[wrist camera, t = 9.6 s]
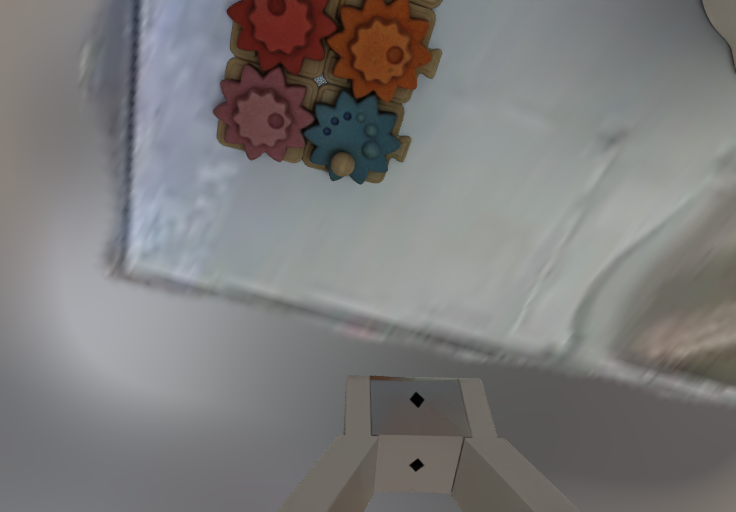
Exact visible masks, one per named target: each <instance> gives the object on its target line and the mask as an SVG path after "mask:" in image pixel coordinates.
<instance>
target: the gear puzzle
mask: <svg viewBox="0 0 736 512" xmlns="http://www.w3.org/2000/svg"><path fill="white" fill-rule="evenodd" d="M441 2H442V0H241V1H239V2H237V3H235V4H233V5H232V6H230V7H229V8H228V9H227V14H228V15H229V16H230V18H231V19H232V20H233V21H234V22H233V27H232V35H231V42H230V49H231V51H232V53H233V54H234V55H235V56H236V57H234V58H232V59H230V60H229V62H228V64H227V67H226V73H225V80H222V81H221V83H220V85H221V89H222V93H223V95H224V97H225V99H226V100H227V101H226V102H224V103H221V104H220V105H218V106H217V107H216V108H215V109H214V111H213V113H214V115H215V116H216V117H217V118H218V119H219V123H218V131H217V139H218V141H219V143H221V144H222V145H224V146H228V147H232V148H236V149H240V150H244V151H245V152H246V154H247V157H248V158H249V159H250V160H254V159H256V158H258V157H259V156H261V155H262V154H263V153H264V152H266V153H267V154H268V155H269V156H270V157H271V158H273V159H274V160H276V161H278V162H281V161H282V160H284V161H288V162H291V163H297V162H299V161H300V160H301V159H303V161H304V163H305V165H307V166H308V167H312V168H315V169H319V170H324V171H328V172H329V176H330V179H331V180H332V181H335V180H338V179H341V178H342V177H344V176H347V175H350V177H351V178H352V179H353V180H354V181H355V182H357V183H358V184H363V182H364V181H367V182H371V183H380V182H381V181H382V180H383V179H384V177H385V174H386V172H387V171H388V164H389V160H390V158H395V159H396V160H398V161H400V162H404V159H405V157H406V154H407V151H408V148H409V146H410V143H411V138H410V137H409V136H399V135H398V133H399V130H400V127H401V124H402V121H403V117H404V108H403V106H402V103H406V102H408V101H409V100H410V98H411V95H412V92H413V90H414V89H416V87H417V77H418V75H419V74H420V73H421V74H424V75H425V76H426V77H428V78H430V79H433V77H434V75H435V72H436V70H437V67H438V64H439V61H440V58H441V55H442V51H441V50H440V49H429V48H428V43H429V40H430V37H431V34H432V31H433V28H434V24H435V21H436V15H435V13H434V11H433V10H432V9H434V8H436V7H438V6H439V5H440V4H441ZM321 74H323V75H324V78H325V80H327V81H328V83H326V84H323V85H321V86H320V87H319V86H318V85H317V83H316V82H315V80H314V78H318V77H319V76H321Z"/></svg>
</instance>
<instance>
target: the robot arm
mask: <svg viewBox="0 0 736 512" xmlns="http://www.w3.org/2000/svg"><path fill="white" fill-rule="evenodd" d="M702 1H703V5H704V9H705V11H706V14H707V16H708V18H709V20H710V22H711V23H712V25H713V26H714V28H715V29H716V30H717V31H718V32H719V33H720V34H721V36H722V37H723V38H724V39H725V40H726V41H727V42H728V44H729V45H730V47H731V48H732V53H733V58H734V63H735V67H736V0H702ZM374 492H427V493H428V492H429V493H451V494H452V495H451V496H452V497H453V499H454V500H455V501H456V502H457V504H458V505H459V507H460V508H461V509H462V511H463V512H581V511H580V510H579V509H578V508H577V507H576V506H575V505H574V504H573V503H571V502H570V501H569V500H568V499H567V498H566V497H565V496H564V495H563V494H562V493H561V492H560V491H559V490H558V489H557V488H556V487H555V486H554V485H553V484H551V483H550V482H549V481H548V480H547V479H546V478H545V477H544V476H543V475H542V474H541V473H540V472H539V471H538V470H537V469H536V468H535V467H534V466H533V465H532V464H531V463H530V462H529V461H527V460H526V459H525V458H524V457H523V456H522V455H521V454H520V453H519V452H518V451H517V450H516V449H515V448H514V447H513V446H512V445H511V444H510V443H509V442H508V441H506V440H505V439H500V438H498V437H497V433H496V430H495V426H494V423H493V420H492V416H491V412H490V408H489V405H488V402H487V398H486V394H485V391H484V387H483V384H482V381H481V380H480V379H472V378H457V379H456V378H414V377H413V378H405V377H385V376H370V377H369V376H358V375H347V377H346V392H345V416H344V435H338V436H337V437H336V438H335V440H334V441H333V442H332V443H331V445H330V446H329V447H328V448H327V450H326V451H325V452H324V454H323V455H322V456H321V457H320V458H319V460H318V461H317V462H316V463H315V465H314V466H313V467H312V468H311V470H310V471H309V472H308V473H307V475H306V476H305V477H304V478H303V480H302V481H301V482H300V483H299V485H298V486H297V487H296V488H295V490H294V491H293V492H292V493H291V495H290V496H289V497H288V498H287V500H286V501H285V502H284V503H283V505H282V506H281V507H280V508H279V510H278V511H277V512H364V510H365V508H366V507H367V505H368V503H369V502H370V500H371V498H372V496H373V493H374Z"/></svg>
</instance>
